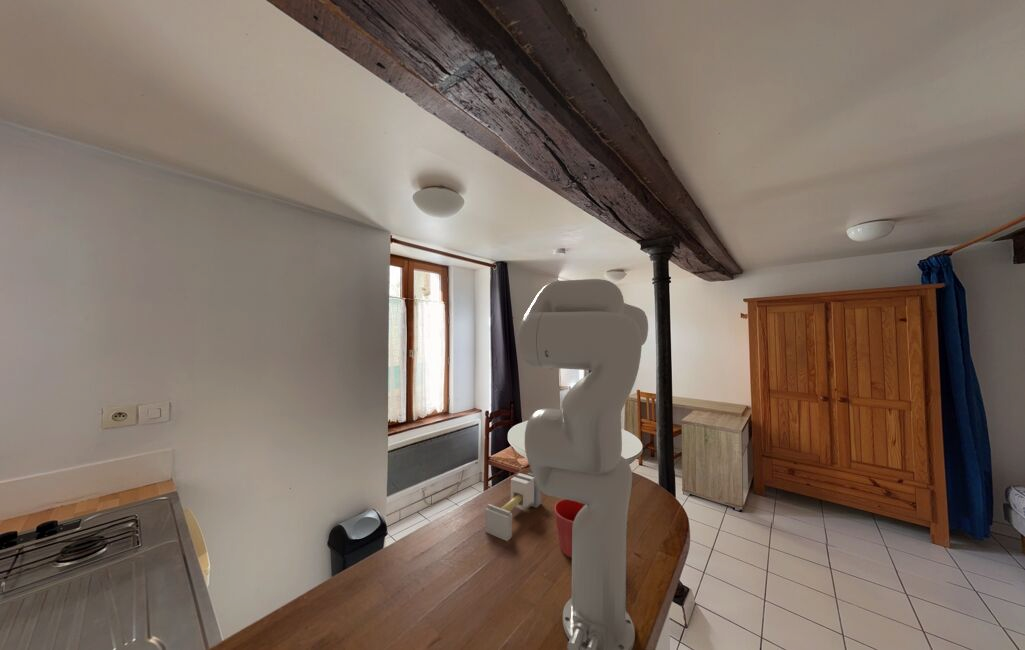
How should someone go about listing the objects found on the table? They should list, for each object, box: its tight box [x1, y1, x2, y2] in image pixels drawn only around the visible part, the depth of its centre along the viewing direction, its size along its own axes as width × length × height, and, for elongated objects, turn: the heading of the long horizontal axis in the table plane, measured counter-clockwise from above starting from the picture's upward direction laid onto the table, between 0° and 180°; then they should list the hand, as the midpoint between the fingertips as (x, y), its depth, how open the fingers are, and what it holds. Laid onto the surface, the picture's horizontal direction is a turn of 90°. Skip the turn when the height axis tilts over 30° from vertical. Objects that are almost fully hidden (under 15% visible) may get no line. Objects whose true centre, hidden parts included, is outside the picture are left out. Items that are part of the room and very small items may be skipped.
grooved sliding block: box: [509, 472, 534, 512], centre depth 94 cm, size 5×5×8 cm
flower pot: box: [553, 499, 585, 559], centre depth 79 cm, size 11×11×10 cm
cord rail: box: [485, 472, 542, 542], centre depth 92 cm, size 21×7×9 cm, turn 148°
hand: (611, 432), depth 85 cm, fingers closed
